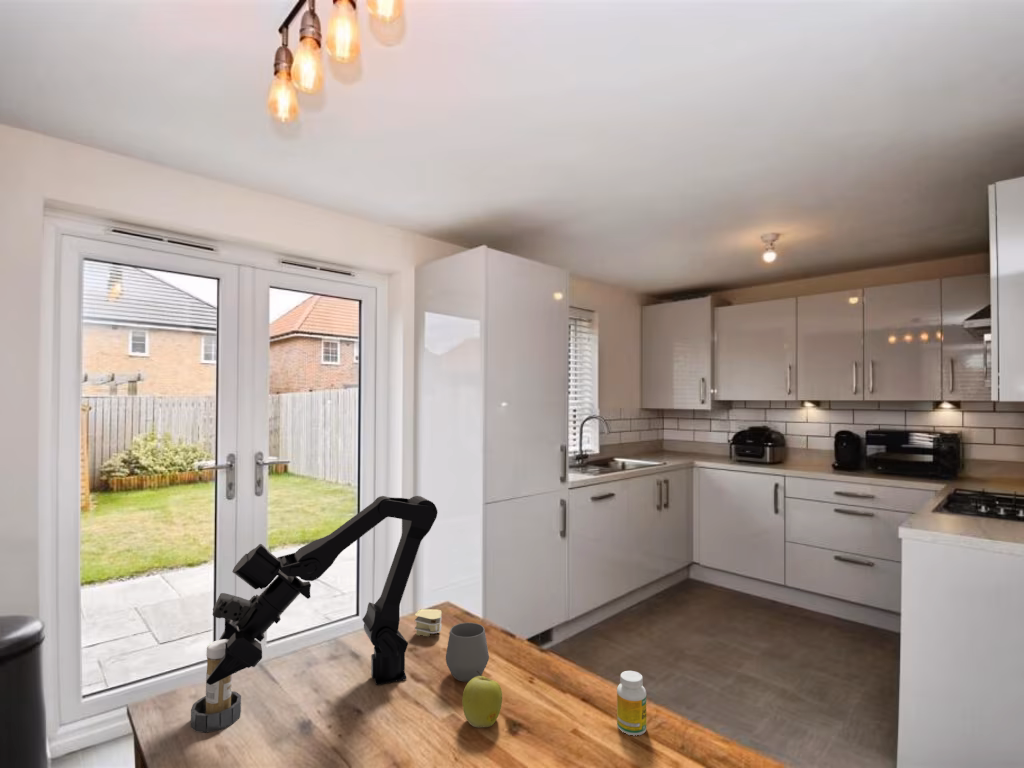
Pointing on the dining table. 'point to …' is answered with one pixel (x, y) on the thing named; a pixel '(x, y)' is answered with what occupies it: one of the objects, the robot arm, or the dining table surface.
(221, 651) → the sprinkles bottle
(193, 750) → the dining table surface
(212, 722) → the bottle holder
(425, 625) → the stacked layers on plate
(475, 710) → the apple
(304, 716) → the dining table surface
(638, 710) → the supplement bottle
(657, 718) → the dining table surface
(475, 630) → the cup
